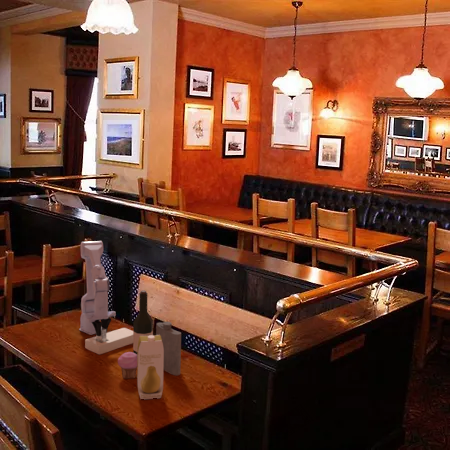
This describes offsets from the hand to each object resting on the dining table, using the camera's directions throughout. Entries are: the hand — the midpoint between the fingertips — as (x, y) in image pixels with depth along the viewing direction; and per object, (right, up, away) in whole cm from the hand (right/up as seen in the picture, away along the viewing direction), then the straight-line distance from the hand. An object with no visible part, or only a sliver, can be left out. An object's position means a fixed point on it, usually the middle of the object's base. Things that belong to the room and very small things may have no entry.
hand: (101, 334), depth 267 cm
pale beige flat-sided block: (+4, -6, +6) cm, 9 cm away
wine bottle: (+20, -9, -8) cm, 23 cm away
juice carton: (+27, -15, -41) cm, 52 cm away
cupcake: (+17, -12, -26) cm, 33 cm away
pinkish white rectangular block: (0, -4, +1) cm, 4 cm away
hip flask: (+31, -11, -17) cm, 37 cm away
